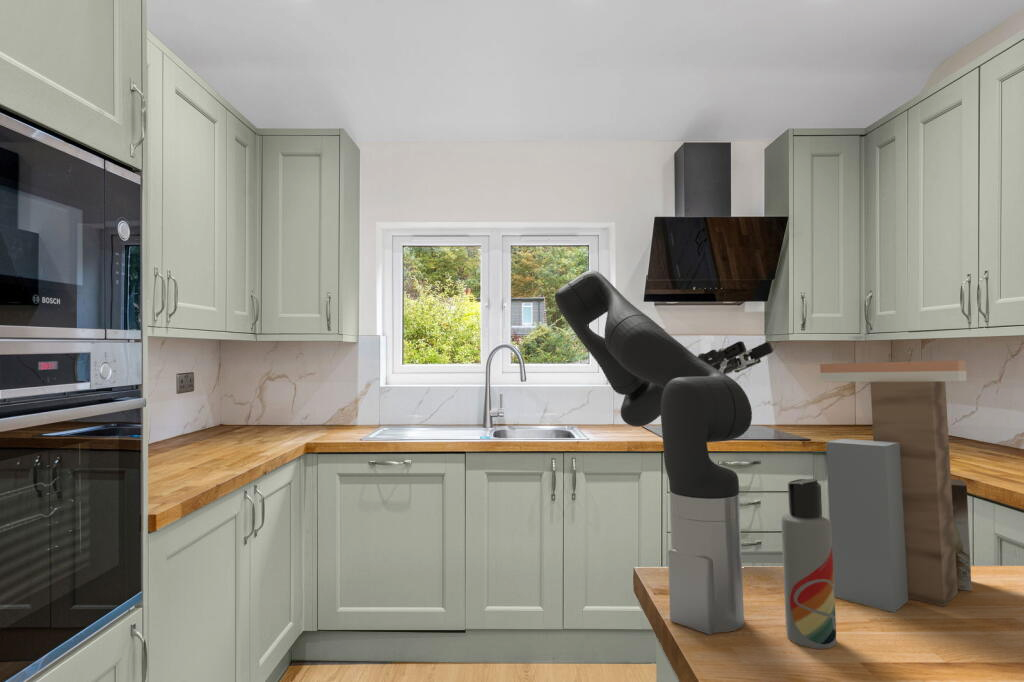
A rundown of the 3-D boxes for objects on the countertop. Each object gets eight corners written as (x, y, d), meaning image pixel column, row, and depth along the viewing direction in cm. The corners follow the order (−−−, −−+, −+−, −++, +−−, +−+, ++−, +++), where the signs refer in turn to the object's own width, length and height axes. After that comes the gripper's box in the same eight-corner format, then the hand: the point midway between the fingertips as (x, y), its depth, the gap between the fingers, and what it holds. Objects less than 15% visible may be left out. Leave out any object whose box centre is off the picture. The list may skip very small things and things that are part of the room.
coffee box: (901, 581, 94) (895, 480, 95) (900, 570, 99) (895, 474, 100) (973, 592, 89) (967, 485, 90) (968, 579, 94) (962, 478, 95)
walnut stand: (944, 606, 84) (931, 381, 86) (881, 591, 90) (870, 381, 92) (957, 594, 88) (945, 380, 90) (896, 580, 94) (886, 381, 96)
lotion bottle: (835, 654, 70) (827, 484, 71) (783, 643, 73) (776, 480, 74) (838, 635, 75) (830, 477, 76) (789, 626, 78) (782, 474, 79)
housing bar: (959, 381, 84) (957, 360, 85) (820, 381, 99) (820, 363, 99) (966, 380, 87) (965, 360, 87) (830, 381, 101) (830, 363, 102)
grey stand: (893, 612, 82) (885, 446, 83) (833, 596, 88) (825, 441, 90) (908, 601, 86) (899, 442, 87) (849, 586, 92) (841, 438, 93)
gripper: (664, 361, 120) (727, 326, 108) (708, 361, 128) (772, 329, 116) (675, 395, 117) (741, 364, 105) (720, 393, 125) (786, 364, 113)
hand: (757, 346), depth 110 cm, fingers open, 8 cm apart
